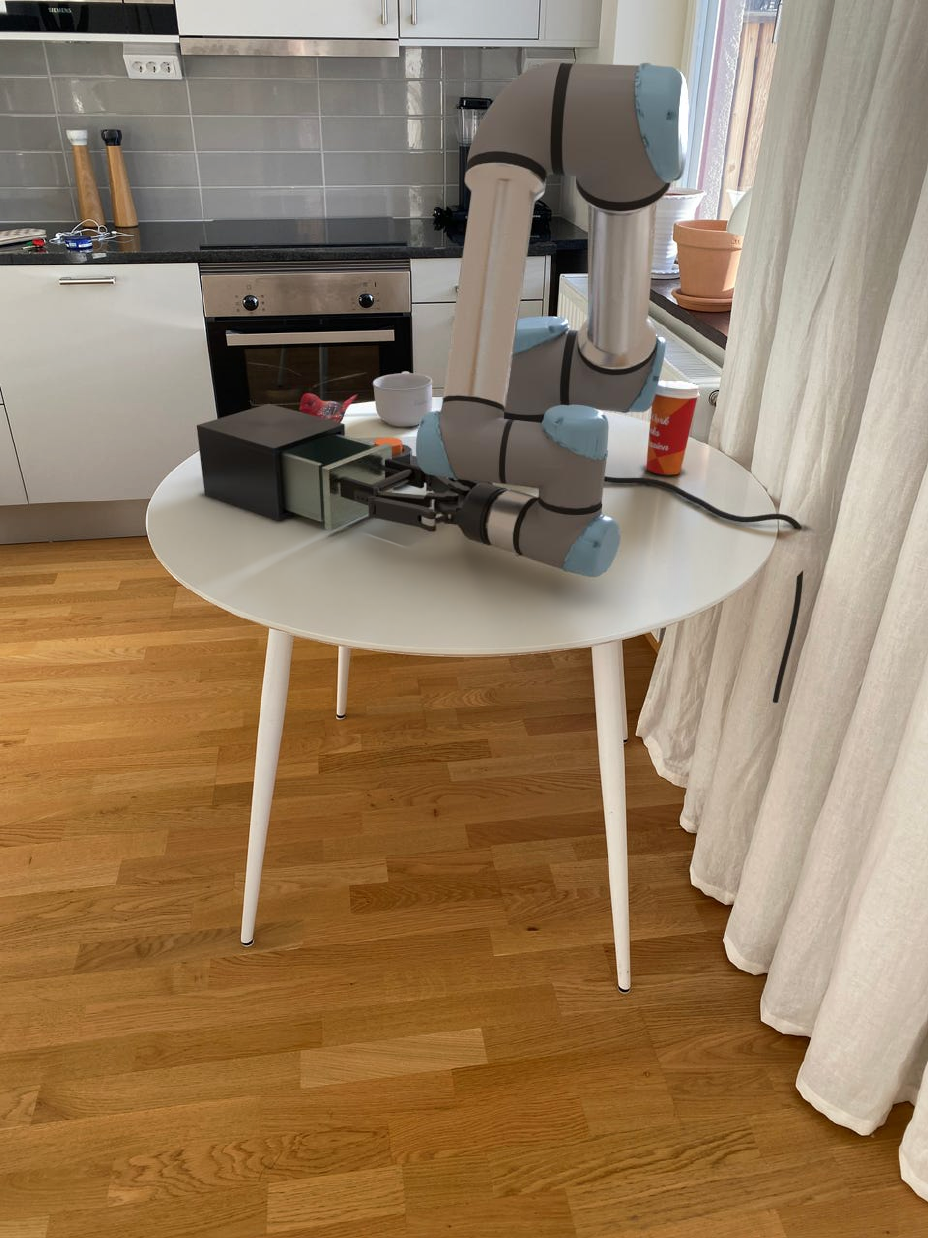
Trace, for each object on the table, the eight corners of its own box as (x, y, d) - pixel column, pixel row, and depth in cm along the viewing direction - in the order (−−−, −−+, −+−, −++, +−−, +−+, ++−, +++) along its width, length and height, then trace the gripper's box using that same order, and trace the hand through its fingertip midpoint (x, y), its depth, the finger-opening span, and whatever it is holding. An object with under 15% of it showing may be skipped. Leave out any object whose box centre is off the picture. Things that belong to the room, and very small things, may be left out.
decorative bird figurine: (295, 454, 157) (291, 395, 152) (351, 426, 171) (349, 371, 166) (309, 457, 156) (306, 398, 151) (365, 428, 170) (363, 373, 165)
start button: (408, 451, 149) (407, 441, 148) (390, 458, 146) (390, 448, 145) (386, 445, 151) (386, 435, 150) (368, 452, 148) (368, 442, 147)
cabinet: (347, 492, 143) (344, 423, 138) (279, 521, 133) (273, 448, 127) (273, 469, 151) (268, 403, 145) (204, 495, 140) (196, 424, 135)
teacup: (424, 433, 169) (424, 389, 165) (366, 428, 170) (365, 384, 167) (441, 411, 181) (442, 370, 177) (387, 406, 182) (386, 365, 179)
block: (432, 473, 151) (433, 449, 149) (397, 489, 144) (397, 464, 142) (380, 458, 156) (380, 435, 154) (344, 473, 150) (343, 449, 148)
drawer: (424, 513, 134) (425, 453, 130) (364, 542, 125) (362, 479, 120) (319, 480, 144) (316, 423, 140) (256, 505, 135) (251, 445, 131)
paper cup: (634, 462, 158) (646, 378, 152) (678, 463, 159) (692, 380, 153) (647, 476, 151) (660, 388, 145) (693, 477, 152) (708, 390, 146)
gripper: (449, 574, 112) (312, 526, 124) (543, 519, 127) (413, 481, 139) (450, 516, 108) (309, 472, 120) (546, 467, 124) (413, 432, 135)
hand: (365, 477), depth 129 cm, fingers closed on drawer, 8 cm apart
